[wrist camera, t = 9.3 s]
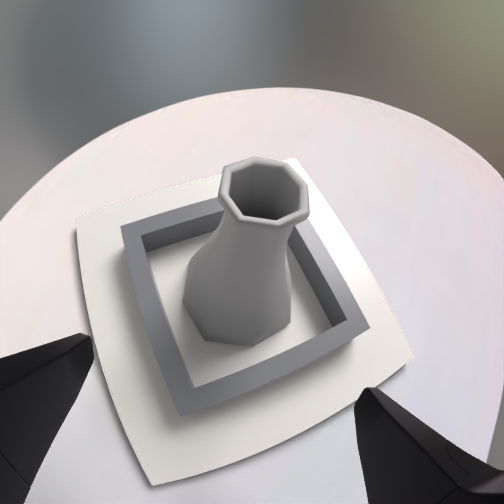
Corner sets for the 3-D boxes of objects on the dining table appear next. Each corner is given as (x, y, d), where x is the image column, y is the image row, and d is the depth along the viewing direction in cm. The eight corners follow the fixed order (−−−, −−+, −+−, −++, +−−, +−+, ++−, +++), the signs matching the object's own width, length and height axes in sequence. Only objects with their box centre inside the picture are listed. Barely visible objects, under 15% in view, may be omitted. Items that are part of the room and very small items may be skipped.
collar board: (407, 358, 18) (433, 350, 15) (155, 481, 12) (144, 497, 9) (292, 165, 26) (301, 140, 23) (79, 224, 20) (65, 201, 17)
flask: (192, 358, 15) (166, 312, 7) (175, 252, 19) (154, 133, 10) (306, 333, 17) (396, 265, 8) (275, 237, 20) (319, 124, 12)
